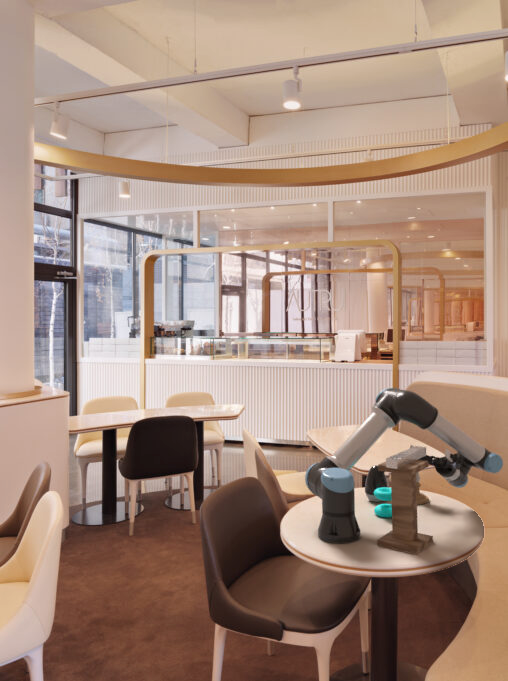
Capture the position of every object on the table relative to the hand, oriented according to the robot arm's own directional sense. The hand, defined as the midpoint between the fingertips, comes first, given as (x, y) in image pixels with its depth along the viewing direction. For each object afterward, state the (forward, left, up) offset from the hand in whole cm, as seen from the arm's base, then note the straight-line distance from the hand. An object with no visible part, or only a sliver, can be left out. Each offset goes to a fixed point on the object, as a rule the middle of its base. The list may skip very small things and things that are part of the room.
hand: (428, 450), depth 214 cm
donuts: (-6, +18, -29) cm, 35 cm away
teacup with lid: (+9, +45, -29) cm, 54 cm away
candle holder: (+15, +29, -29) cm, 44 cm away
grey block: (-16, -9, -1) cm, 18 cm away
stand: (-18, -11, -29) cm, 36 cm away
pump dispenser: (0, +36, -29) cm, 46 cm away
